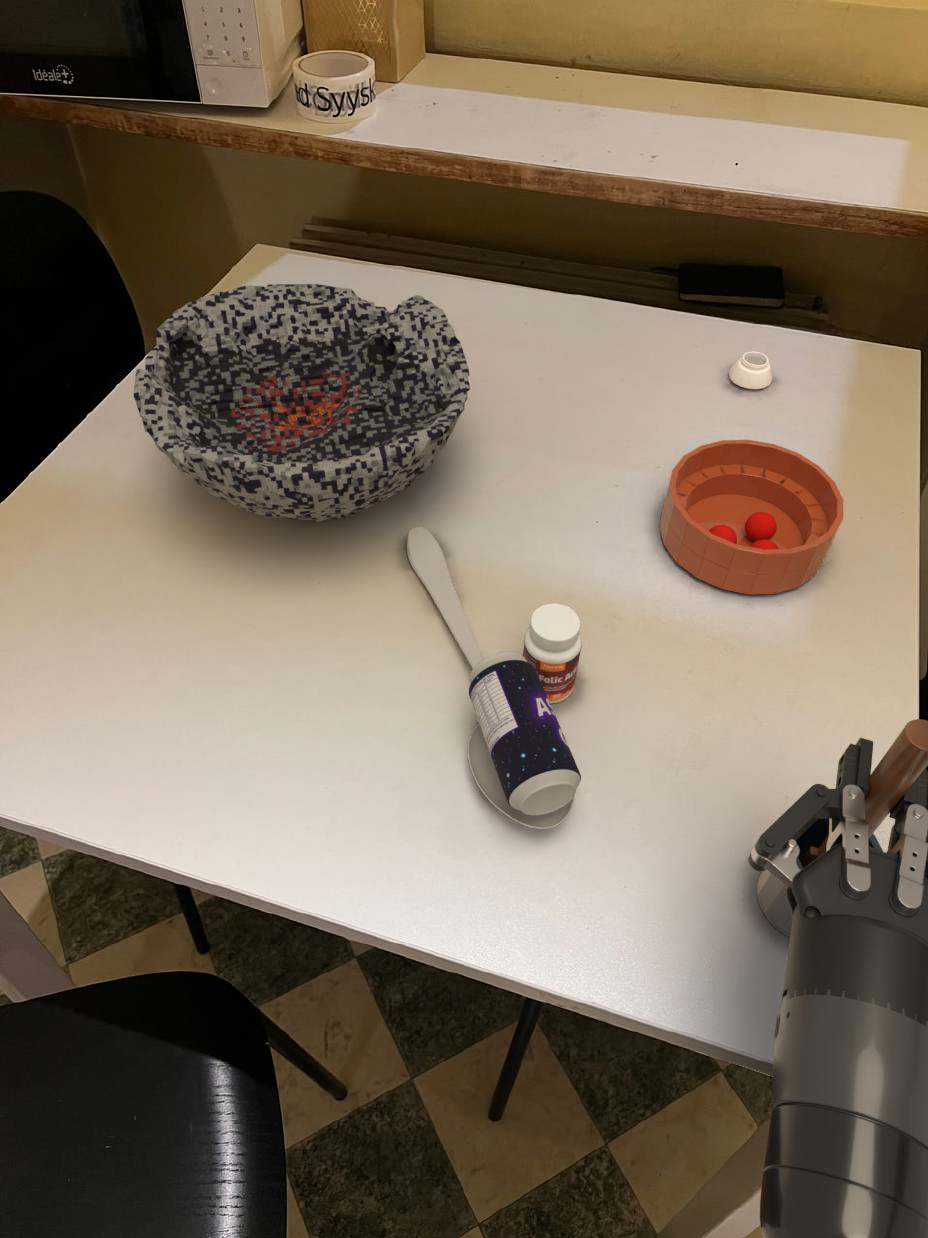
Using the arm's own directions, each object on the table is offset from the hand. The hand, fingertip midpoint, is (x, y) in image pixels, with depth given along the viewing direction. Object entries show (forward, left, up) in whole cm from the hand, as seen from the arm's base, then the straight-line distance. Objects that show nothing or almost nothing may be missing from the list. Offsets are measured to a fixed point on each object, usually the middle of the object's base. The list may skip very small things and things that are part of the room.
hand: (883, 753), depth 53 cm
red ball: (+6, -34, -14) cm, 37 cm away
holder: (0, +3, -16) cm, 16 cm away
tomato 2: (+5, -30, -14) cm, 33 cm away
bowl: (+51, -31, -16) cm, 62 cm away
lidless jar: (+8, -62, -16) cm, 65 cm away
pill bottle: (+22, -11, -16) cm, 29 cm away
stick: (0, +3, -14) cm, 14 cm away
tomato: (+9, -31, -14) cm, 35 cm away
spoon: (+29, -11, -16) cm, 35 cm away
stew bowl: (+7, -34, -16) cm, 38 cm away
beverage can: (+19, +3, -10) cm, 22 cm away
